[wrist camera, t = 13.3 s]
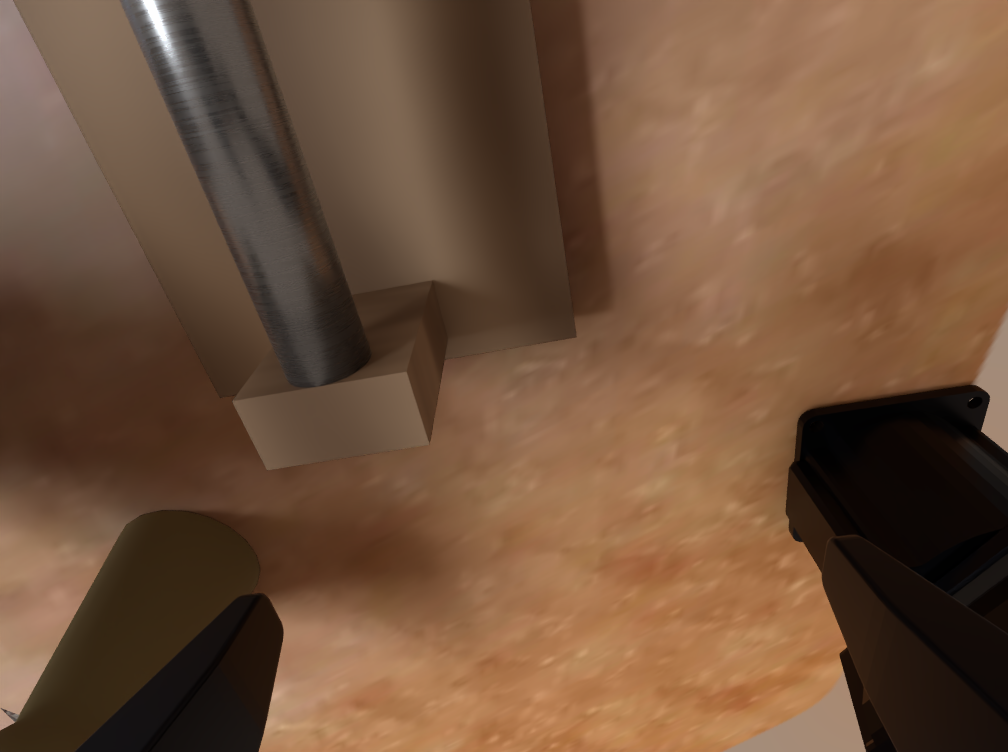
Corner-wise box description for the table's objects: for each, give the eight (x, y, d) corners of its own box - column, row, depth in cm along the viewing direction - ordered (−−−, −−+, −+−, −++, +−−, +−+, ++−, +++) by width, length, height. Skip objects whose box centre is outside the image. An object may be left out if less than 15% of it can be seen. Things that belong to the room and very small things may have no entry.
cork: (259, 521, 24) (102, 835, 15) (260, 614, 27) (130, 924, 18) (108, 500, 23) (-161, 813, 14) (126, 597, 26) (-85, 910, 17)
